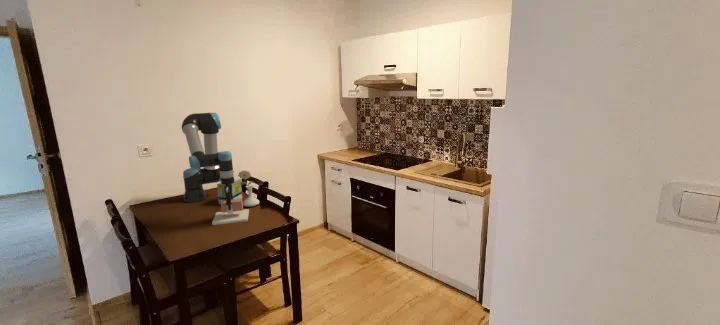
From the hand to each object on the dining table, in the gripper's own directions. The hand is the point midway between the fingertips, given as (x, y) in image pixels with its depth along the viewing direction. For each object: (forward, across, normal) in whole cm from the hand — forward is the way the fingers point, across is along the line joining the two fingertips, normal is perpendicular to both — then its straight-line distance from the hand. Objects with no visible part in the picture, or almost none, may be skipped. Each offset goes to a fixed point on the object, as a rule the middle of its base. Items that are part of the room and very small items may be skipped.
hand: (231, 212), depth 207 cm
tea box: (+4, +35, +4) cm, 35 cm away
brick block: (-5, 0, -7) cm, 8 cm away
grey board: (+4, 0, 0) cm, 4 cm away
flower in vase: (+4, +21, -10) cm, 24 cm away
